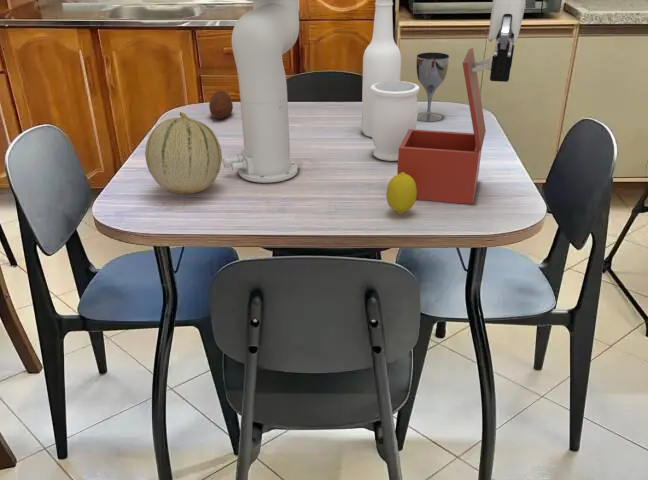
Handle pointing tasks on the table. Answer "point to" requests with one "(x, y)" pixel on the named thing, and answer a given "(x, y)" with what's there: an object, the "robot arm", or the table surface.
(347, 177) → the table surface
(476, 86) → the bin lid
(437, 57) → the wine glass
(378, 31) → the alcohol
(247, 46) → the robot arm
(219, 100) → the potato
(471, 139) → the bin
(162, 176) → the cantaloupe
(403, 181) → the lemon
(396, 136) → the jar
